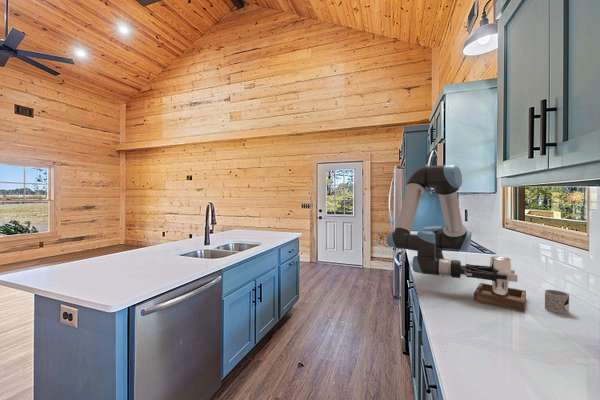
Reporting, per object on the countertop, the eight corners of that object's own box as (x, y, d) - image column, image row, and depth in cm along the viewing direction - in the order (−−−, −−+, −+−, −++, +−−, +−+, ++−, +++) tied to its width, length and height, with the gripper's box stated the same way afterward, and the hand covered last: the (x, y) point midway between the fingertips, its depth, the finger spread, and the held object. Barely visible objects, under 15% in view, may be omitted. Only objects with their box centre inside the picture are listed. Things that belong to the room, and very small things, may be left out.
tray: (480, 290, 126) (480, 282, 126) (525, 299, 115) (526, 290, 115) (473, 301, 114) (473, 292, 114) (524, 311, 103) (524, 302, 103)
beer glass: (515, 297, 111) (515, 260, 111) (497, 298, 111) (497, 260, 111) (502, 291, 118) (503, 256, 118) (485, 291, 118) (486, 256, 118)
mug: (570, 316, 100) (570, 297, 100) (545, 311, 104) (545, 293, 104) (566, 306, 108) (566, 289, 108) (543, 302, 112) (543, 286, 112)
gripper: (451, 271, 132) (512, 278, 120) (449, 283, 115) (519, 292, 103) (451, 255, 132) (512, 261, 120) (449, 264, 115) (520, 272, 103)
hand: (515, 275), depth 112 cm, fingers closed on beer glass, 7 cm apart
